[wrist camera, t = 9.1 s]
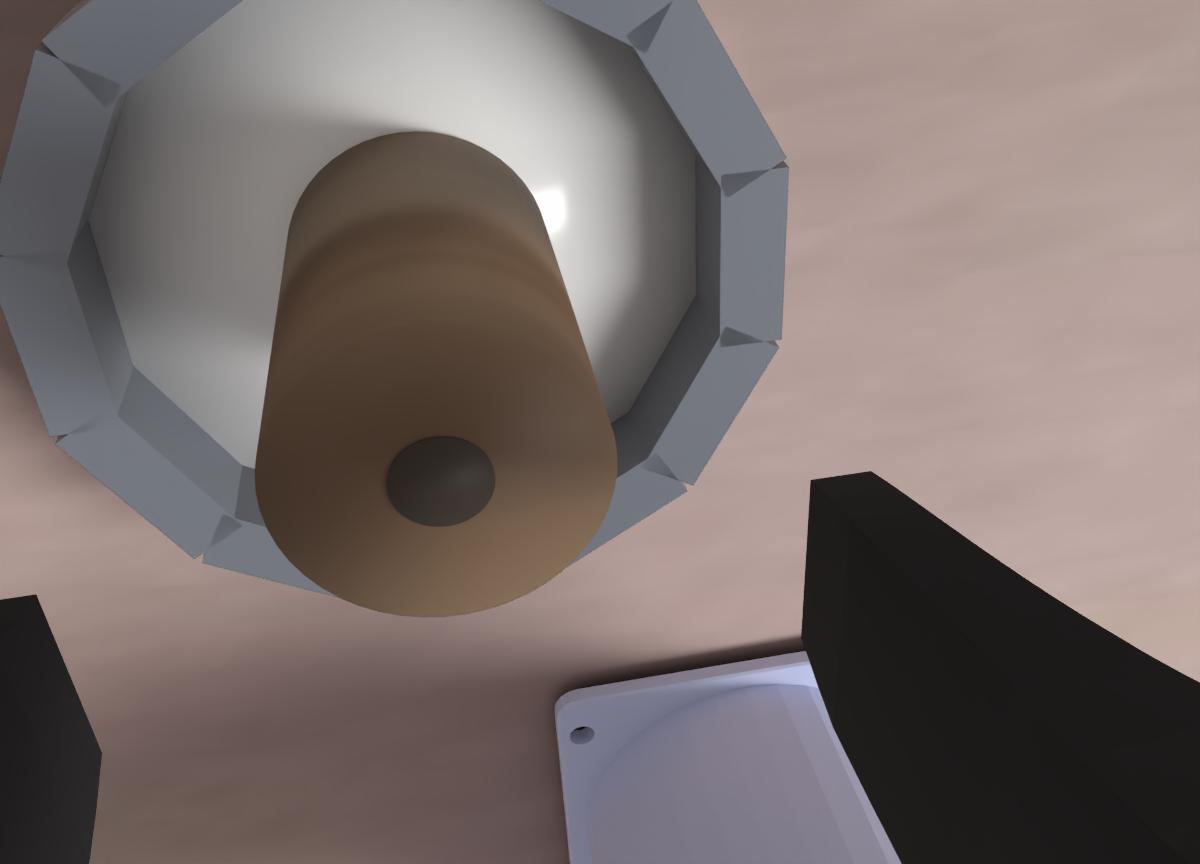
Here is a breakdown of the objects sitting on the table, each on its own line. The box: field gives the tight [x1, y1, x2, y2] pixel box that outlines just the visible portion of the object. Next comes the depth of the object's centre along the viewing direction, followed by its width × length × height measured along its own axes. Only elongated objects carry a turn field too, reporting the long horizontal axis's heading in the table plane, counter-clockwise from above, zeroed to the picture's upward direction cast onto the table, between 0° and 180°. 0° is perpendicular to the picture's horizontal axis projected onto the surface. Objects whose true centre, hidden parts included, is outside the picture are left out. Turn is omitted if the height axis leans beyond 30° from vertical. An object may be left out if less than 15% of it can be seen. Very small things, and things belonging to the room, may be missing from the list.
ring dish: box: [0, 0, 789, 598], centre depth 17 cm, size 11×11×2 cm
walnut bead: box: [254, 131, 617, 617], centre depth 15 cm, size 4×4×6 cm
